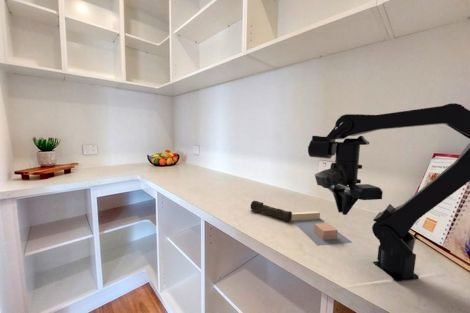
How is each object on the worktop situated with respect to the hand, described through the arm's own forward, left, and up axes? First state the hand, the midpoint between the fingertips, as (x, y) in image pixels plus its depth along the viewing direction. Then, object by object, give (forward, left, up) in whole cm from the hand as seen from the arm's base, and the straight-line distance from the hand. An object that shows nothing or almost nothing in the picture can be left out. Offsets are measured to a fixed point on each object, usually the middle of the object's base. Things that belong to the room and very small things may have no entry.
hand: (342, 213), depth 56 cm
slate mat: (+11, 0, -11) cm, 16 cm away
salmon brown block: (+7, 0, -10) cm, 13 cm away
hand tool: (+25, +13, -11) cm, 31 cm away
